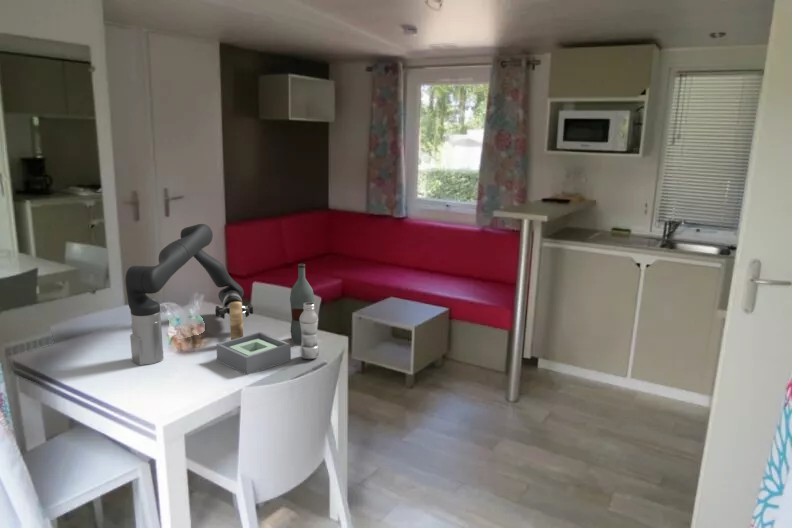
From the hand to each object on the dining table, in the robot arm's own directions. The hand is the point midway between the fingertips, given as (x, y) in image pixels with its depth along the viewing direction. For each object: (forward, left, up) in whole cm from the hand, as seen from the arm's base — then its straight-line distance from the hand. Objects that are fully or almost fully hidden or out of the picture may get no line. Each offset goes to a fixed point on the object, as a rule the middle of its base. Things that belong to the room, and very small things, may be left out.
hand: (235, 315), depth 217 cm
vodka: (+17, -19, -10) cm, 27 cm away
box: (-8, -23, -10) cm, 26 cm away
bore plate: (-8, -23, -10) cm, 26 cm away
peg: (-3, -5, -10) cm, 11 cm away
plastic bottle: (+7, -35, -10) cm, 37 cm away
